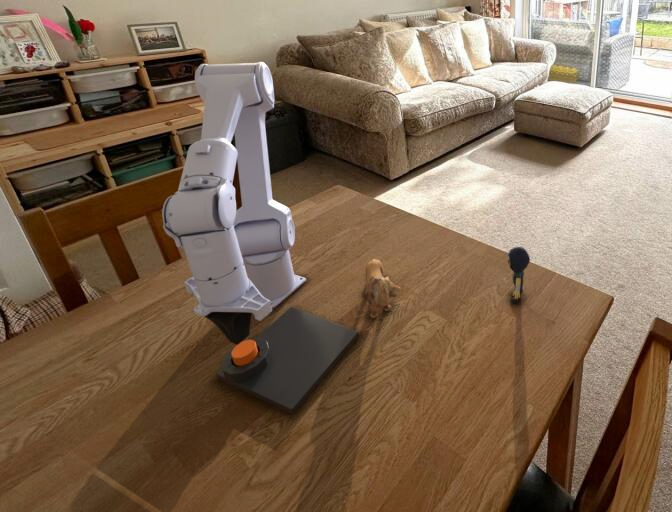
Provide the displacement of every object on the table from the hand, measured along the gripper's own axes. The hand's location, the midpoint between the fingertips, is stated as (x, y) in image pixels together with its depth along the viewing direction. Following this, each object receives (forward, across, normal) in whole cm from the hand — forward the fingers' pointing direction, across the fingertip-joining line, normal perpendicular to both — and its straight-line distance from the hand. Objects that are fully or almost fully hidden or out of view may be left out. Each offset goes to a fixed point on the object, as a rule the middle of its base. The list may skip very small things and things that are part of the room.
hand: (240, 338), depth 61 cm
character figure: (+7, +34, +29) cm, 46 cm away
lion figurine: (+7, +10, +19) cm, 23 cm away
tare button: (+4, 0, 0) cm, 4 cm away
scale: (+7, +4, +4) cm, 9 cm away
